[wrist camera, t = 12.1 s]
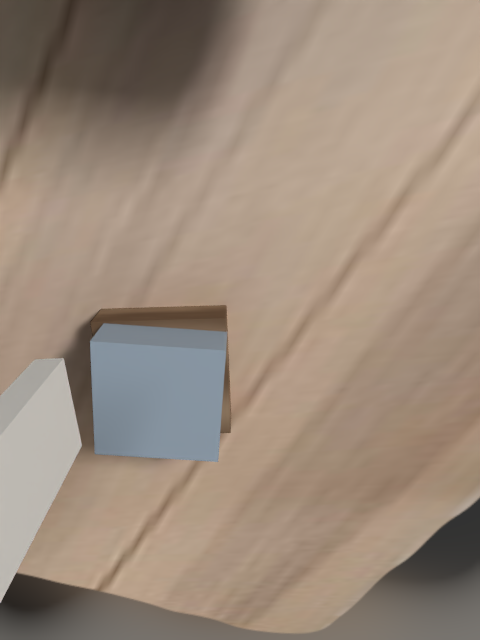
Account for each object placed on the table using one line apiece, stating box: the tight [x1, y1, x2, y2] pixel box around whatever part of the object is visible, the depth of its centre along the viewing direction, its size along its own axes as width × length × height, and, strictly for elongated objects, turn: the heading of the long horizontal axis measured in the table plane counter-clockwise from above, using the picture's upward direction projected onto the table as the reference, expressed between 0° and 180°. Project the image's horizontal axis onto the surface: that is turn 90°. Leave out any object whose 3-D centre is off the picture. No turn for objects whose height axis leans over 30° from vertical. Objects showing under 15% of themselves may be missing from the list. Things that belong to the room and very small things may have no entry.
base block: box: [90, 305, 231, 433], centre depth 45 cm, size 12×12×4 cm
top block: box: [90, 323, 227, 462], centre depth 41 cm, size 11×11×4 cm
